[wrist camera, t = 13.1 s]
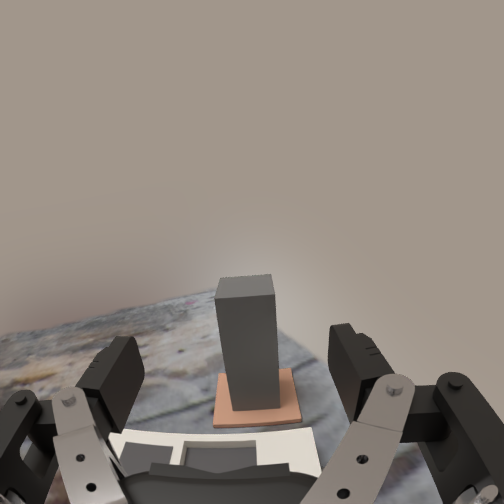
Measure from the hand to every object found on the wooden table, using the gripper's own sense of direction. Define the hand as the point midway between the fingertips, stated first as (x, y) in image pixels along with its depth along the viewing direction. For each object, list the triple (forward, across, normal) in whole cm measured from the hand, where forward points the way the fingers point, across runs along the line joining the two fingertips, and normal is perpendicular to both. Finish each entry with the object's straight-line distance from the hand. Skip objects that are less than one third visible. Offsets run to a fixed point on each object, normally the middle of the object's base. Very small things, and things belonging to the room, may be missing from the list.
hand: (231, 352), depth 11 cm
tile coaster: (+12, 0, +15) cm, 19 cm away
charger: (+12, -1, +14) cm, 19 cm away
